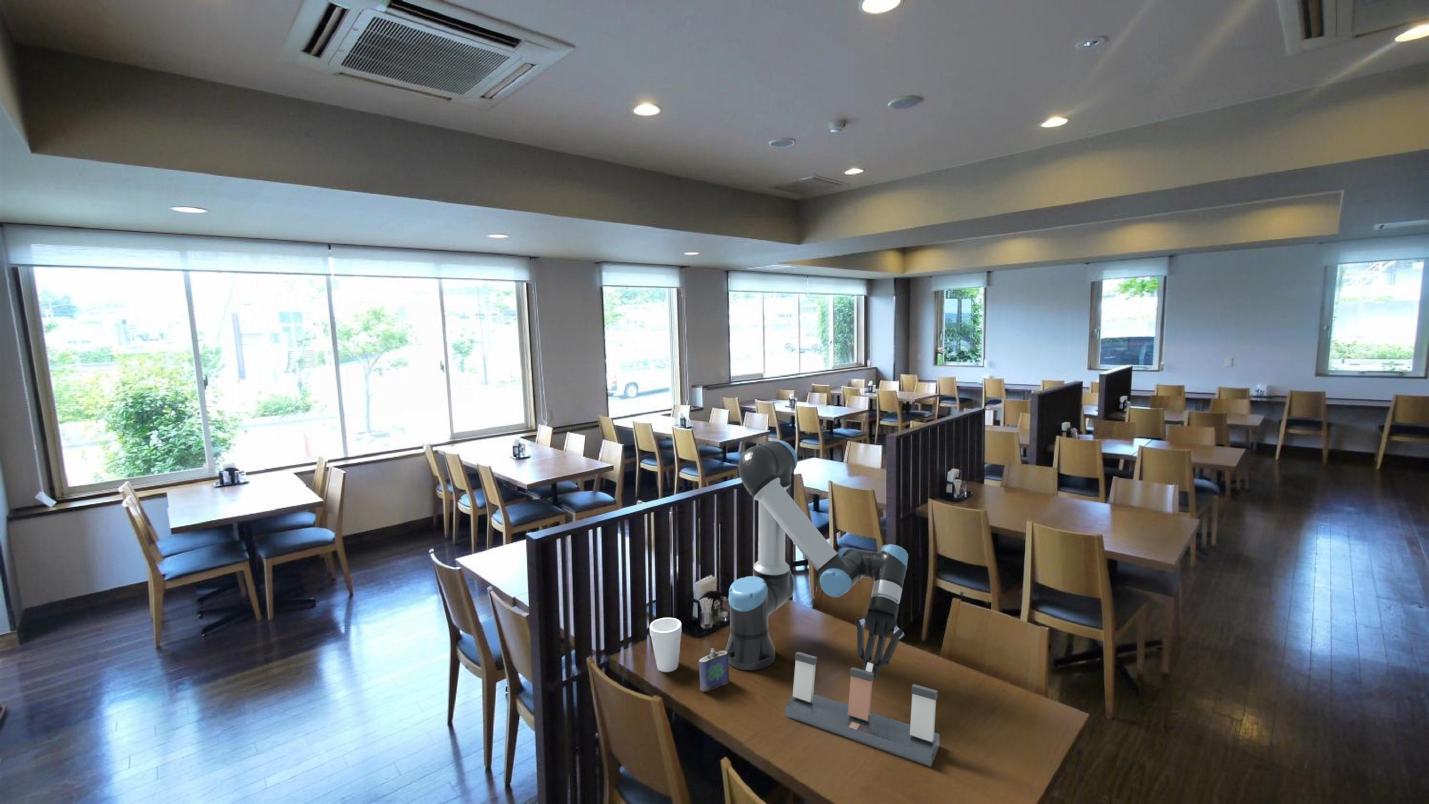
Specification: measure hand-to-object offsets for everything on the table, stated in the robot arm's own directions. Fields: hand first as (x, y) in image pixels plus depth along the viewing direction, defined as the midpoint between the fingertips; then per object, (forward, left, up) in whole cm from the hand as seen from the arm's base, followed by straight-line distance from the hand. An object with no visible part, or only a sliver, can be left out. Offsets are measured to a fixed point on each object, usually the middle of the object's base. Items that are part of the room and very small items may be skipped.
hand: (865, 690), depth 147 cm
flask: (-10, -41, -8) cm, 43 cm away
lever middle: (+4, -2, -4) cm, 6 cm away
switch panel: (+4, -2, -8) cm, 9 cm away
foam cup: (-18, -57, -8) cm, 60 cm away
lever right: (+10, +12, -4) cm, 16 cm away
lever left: (-2, -16, -4) cm, 17 cm away
